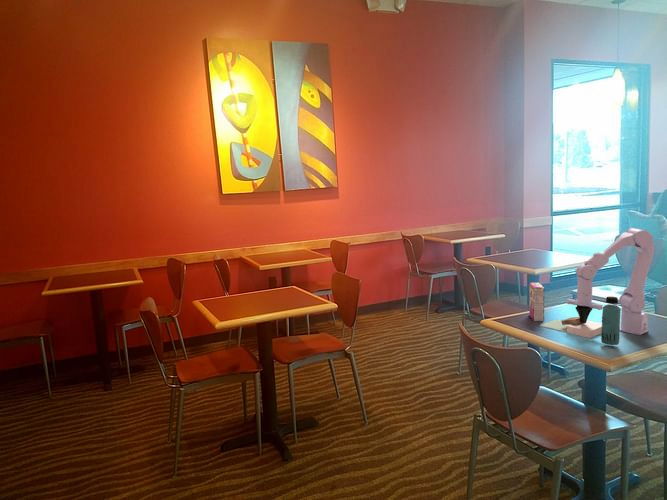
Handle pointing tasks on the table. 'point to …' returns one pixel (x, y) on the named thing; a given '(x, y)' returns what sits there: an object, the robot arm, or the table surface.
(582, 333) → the pale pink flat block
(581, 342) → the table surface
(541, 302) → the candy bar box
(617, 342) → the beverage bottle
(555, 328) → the mat
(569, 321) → the walnut tile
